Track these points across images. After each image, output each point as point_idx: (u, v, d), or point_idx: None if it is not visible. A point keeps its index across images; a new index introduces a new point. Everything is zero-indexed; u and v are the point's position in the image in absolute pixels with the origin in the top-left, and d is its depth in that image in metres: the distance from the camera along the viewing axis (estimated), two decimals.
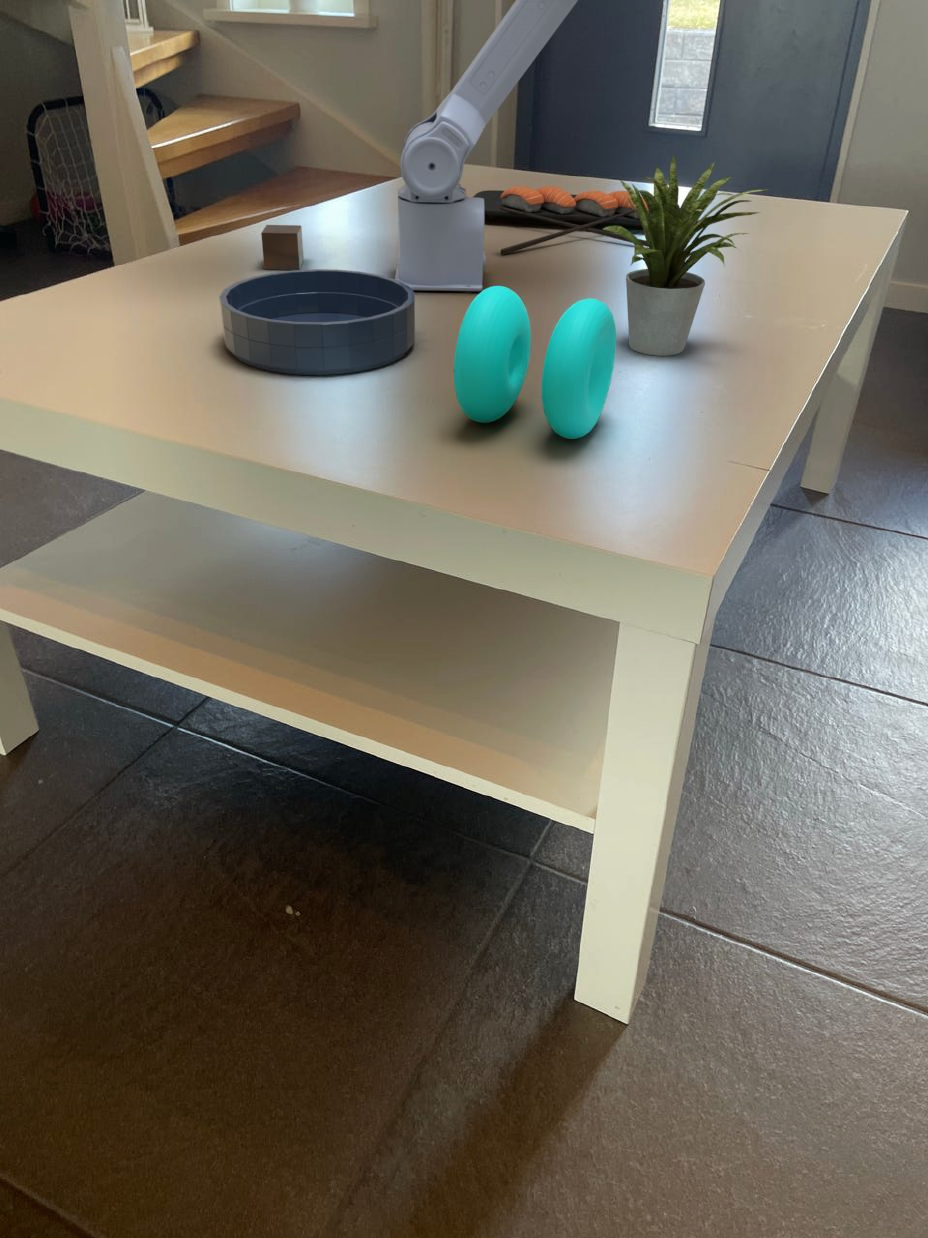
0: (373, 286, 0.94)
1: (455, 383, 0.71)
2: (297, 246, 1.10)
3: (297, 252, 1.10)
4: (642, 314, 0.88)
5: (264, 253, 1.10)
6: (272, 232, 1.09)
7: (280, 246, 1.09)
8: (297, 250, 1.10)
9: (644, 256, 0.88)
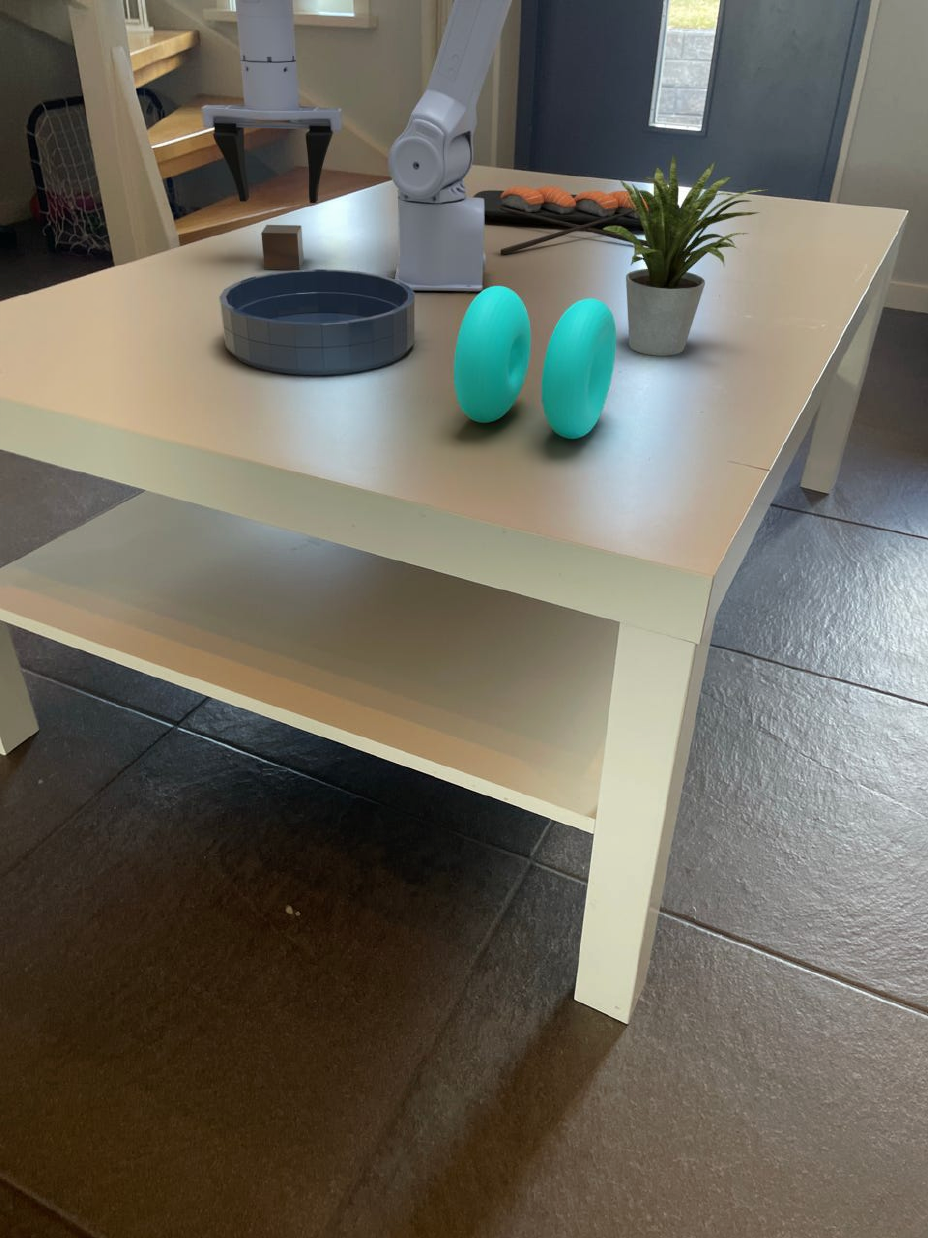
0: (373, 286, 0.94)
1: (455, 383, 0.71)
2: (297, 246, 1.10)
3: (297, 252, 1.10)
4: (642, 314, 0.88)
5: (264, 253, 1.10)
6: (272, 232, 1.09)
7: (280, 246, 1.09)
8: (297, 250, 1.10)
9: (644, 256, 0.88)
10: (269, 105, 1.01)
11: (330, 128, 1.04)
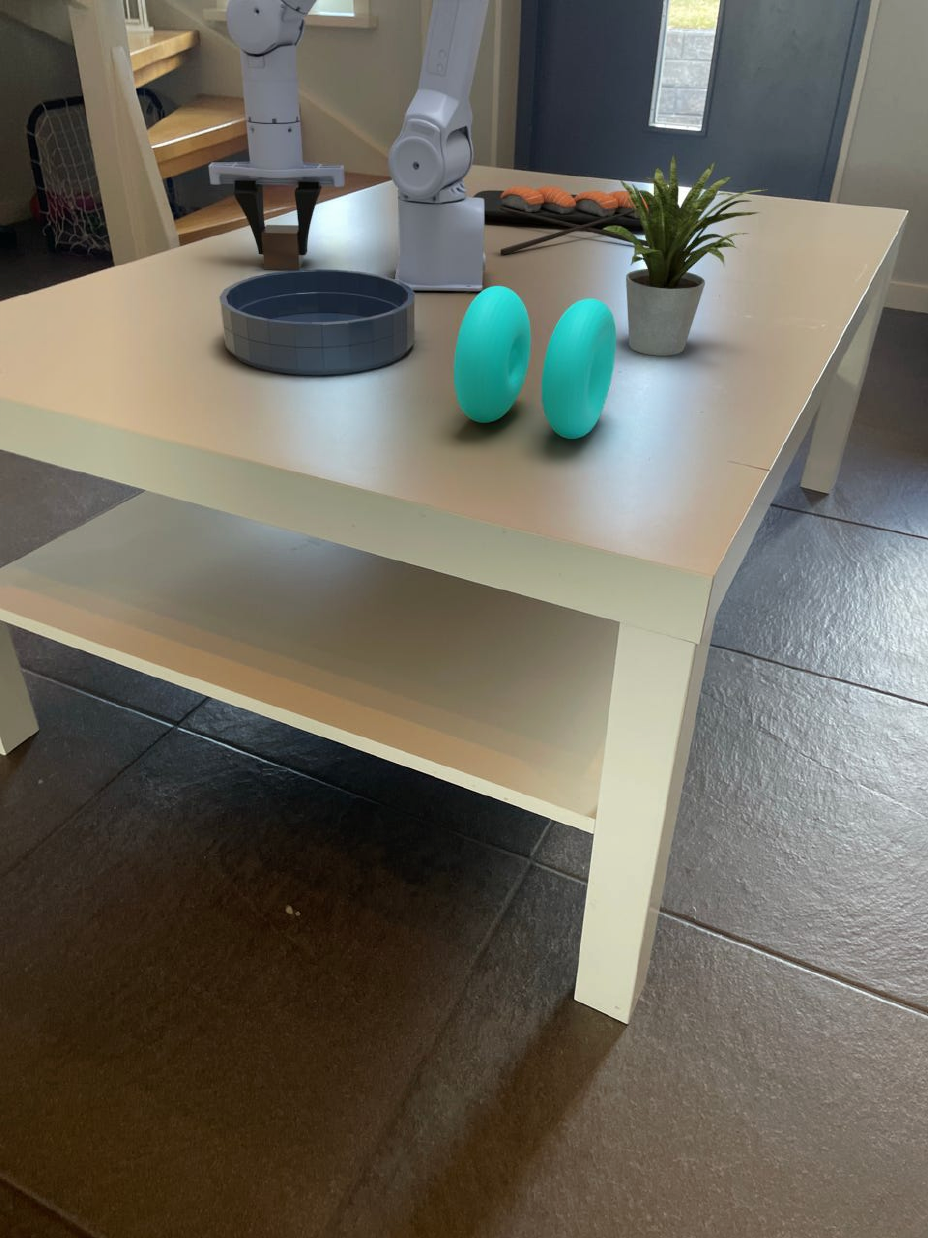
0: (373, 286, 0.94)
1: (455, 383, 0.71)
2: (297, 246, 1.10)
3: (297, 252, 1.10)
4: (642, 314, 0.88)
5: (264, 253, 1.10)
6: (272, 232, 1.09)
7: (280, 246, 1.09)
8: (297, 250, 1.10)
9: (644, 256, 0.88)
10: (274, 164, 1.04)
11: (318, 184, 1.07)
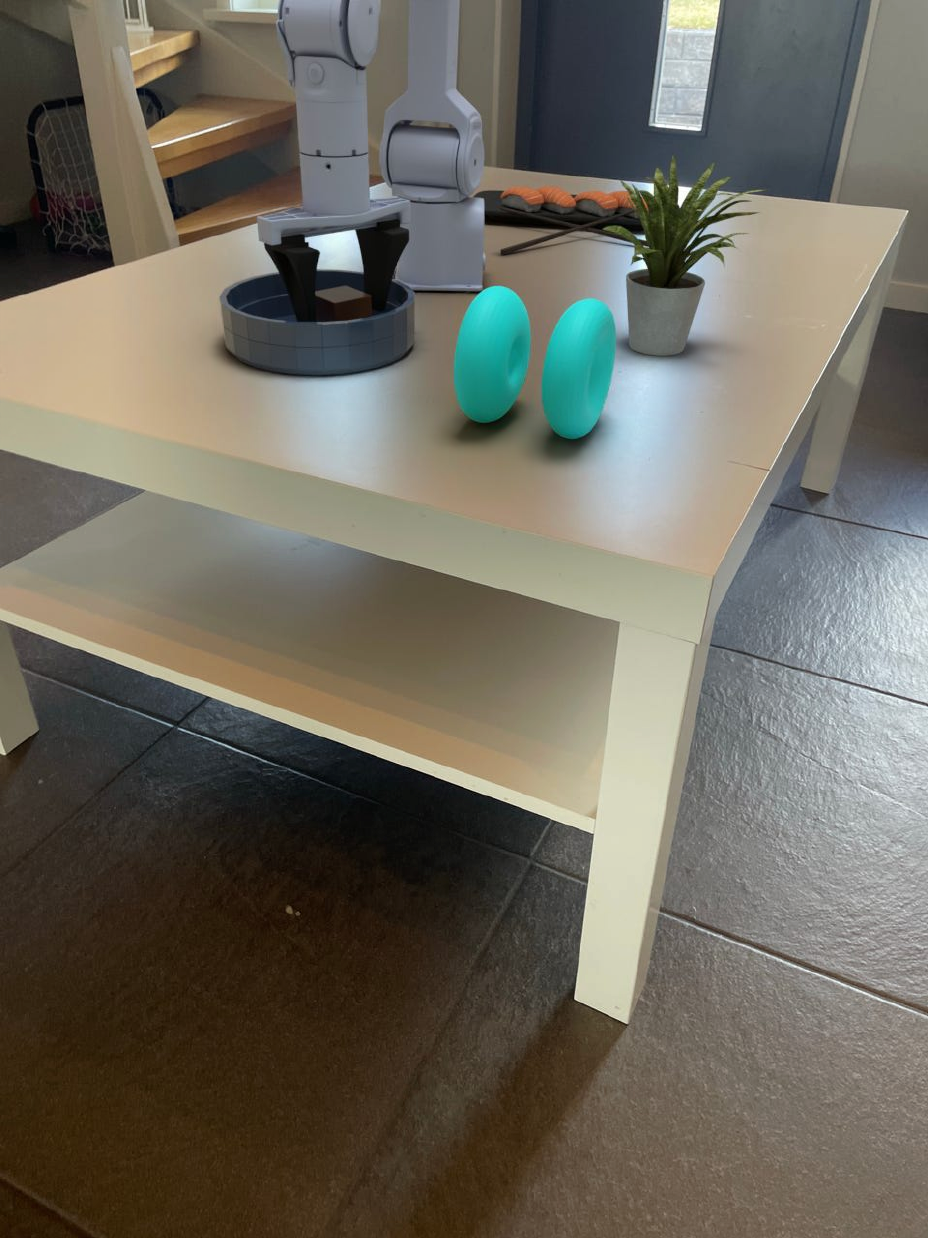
0: None
1: (455, 383, 0.71)
2: (370, 311, 0.88)
3: None
4: (642, 314, 0.88)
5: None
6: (344, 300, 0.86)
7: (353, 315, 0.87)
8: (371, 316, 0.88)
9: (644, 256, 0.88)
10: (357, 207, 0.81)
11: (400, 222, 0.87)
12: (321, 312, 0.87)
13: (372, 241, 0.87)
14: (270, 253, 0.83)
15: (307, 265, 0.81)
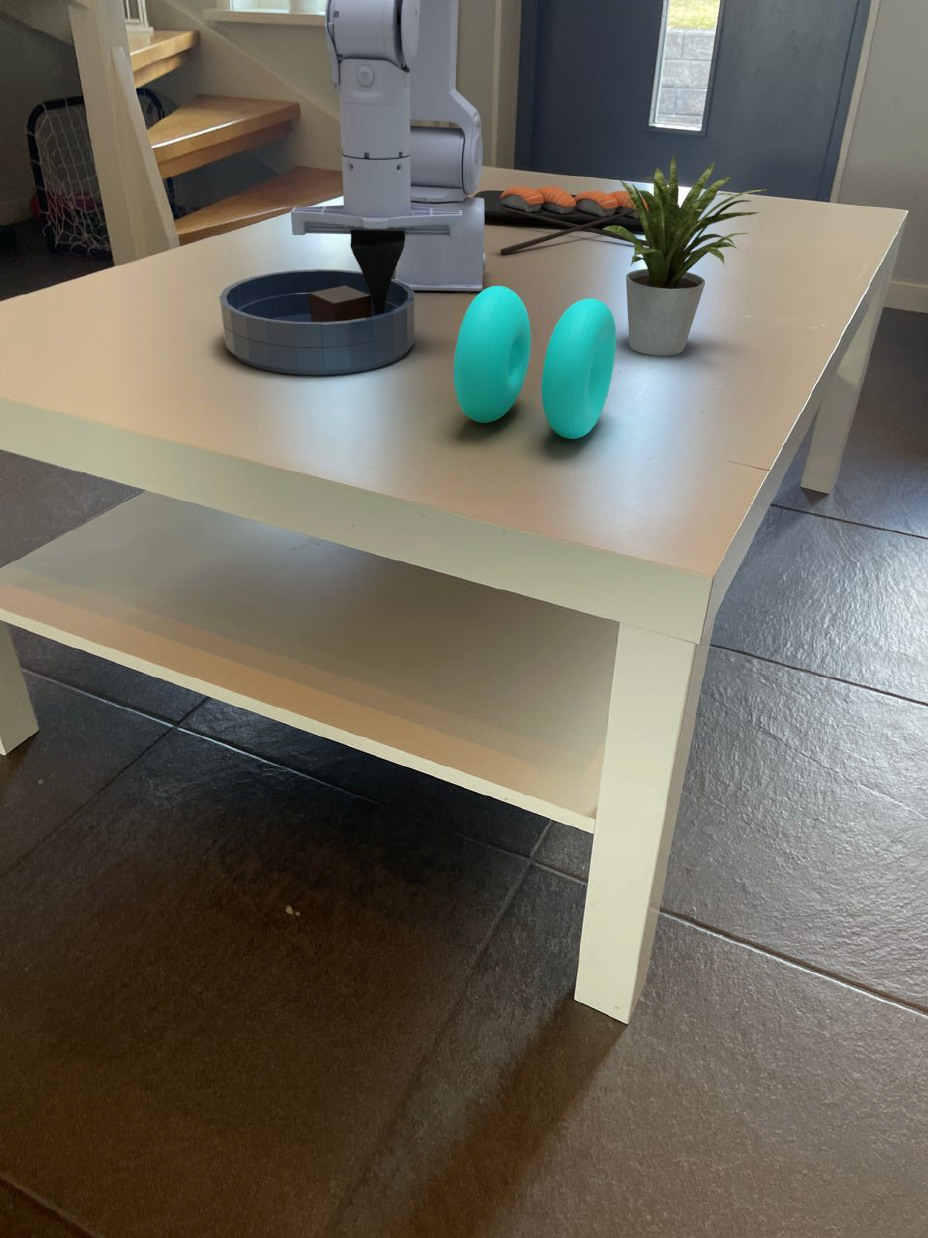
0: None
1: (455, 383, 0.71)
2: (370, 311, 0.88)
3: None
4: (642, 314, 0.88)
5: None
6: (343, 300, 0.86)
7: (353, 316, 0.87)
8: (370, 316, 0.88)
9: (644, 256, 0.88)
10: None
11: None
12: (321, 312, 0.87)
13: None
14: None
15: None
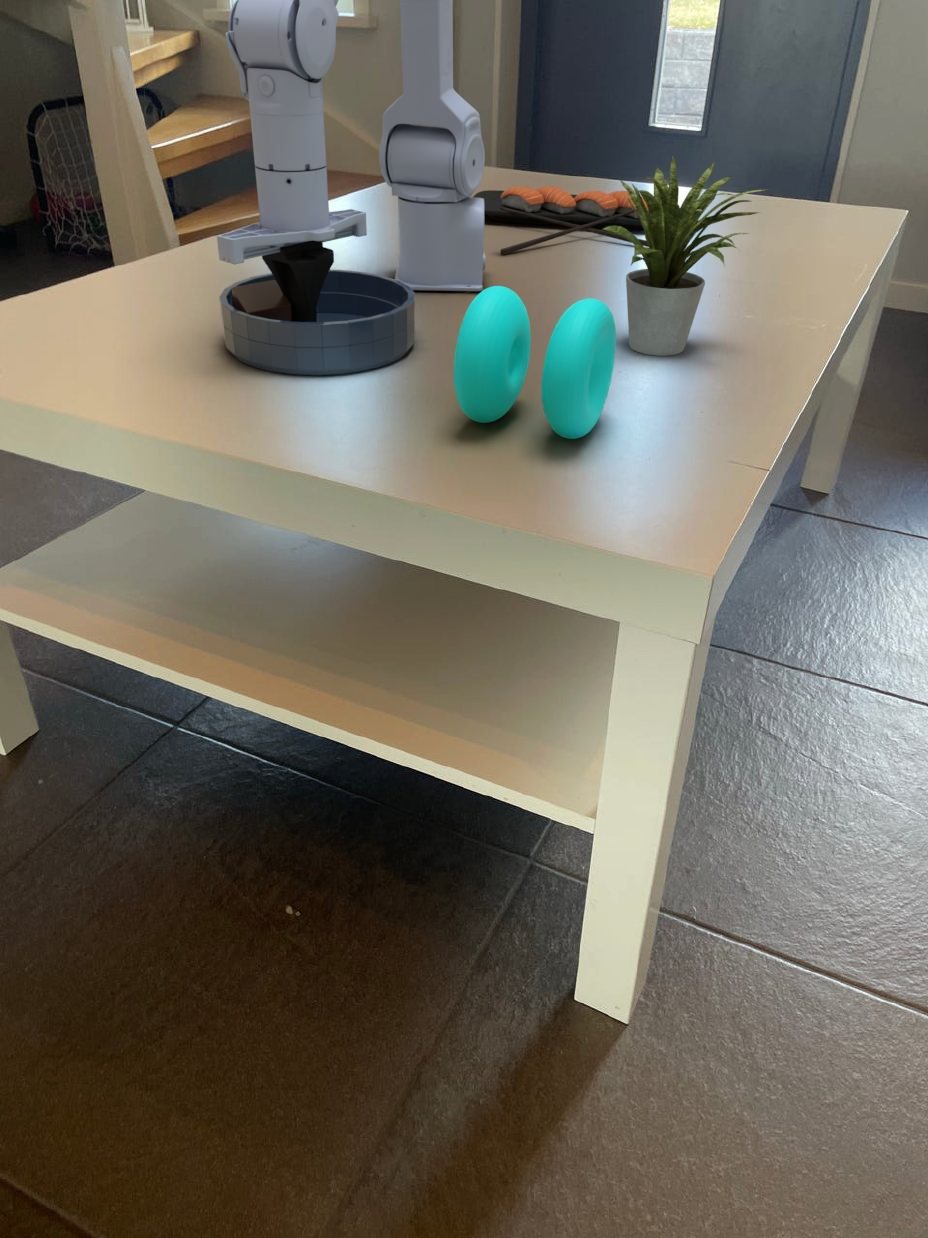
0: (373, 286, 0.94)
1: (455, 383, 0.71)
2: (290, 318, 0.85)
3: None
4: (642, 314, 0.88)
5: None
6: (259, 308, 0.83)
7: None
8: None
9: (644, 256, 0.88)
10: None
11: None
12: None
13: None
14: None
15: None
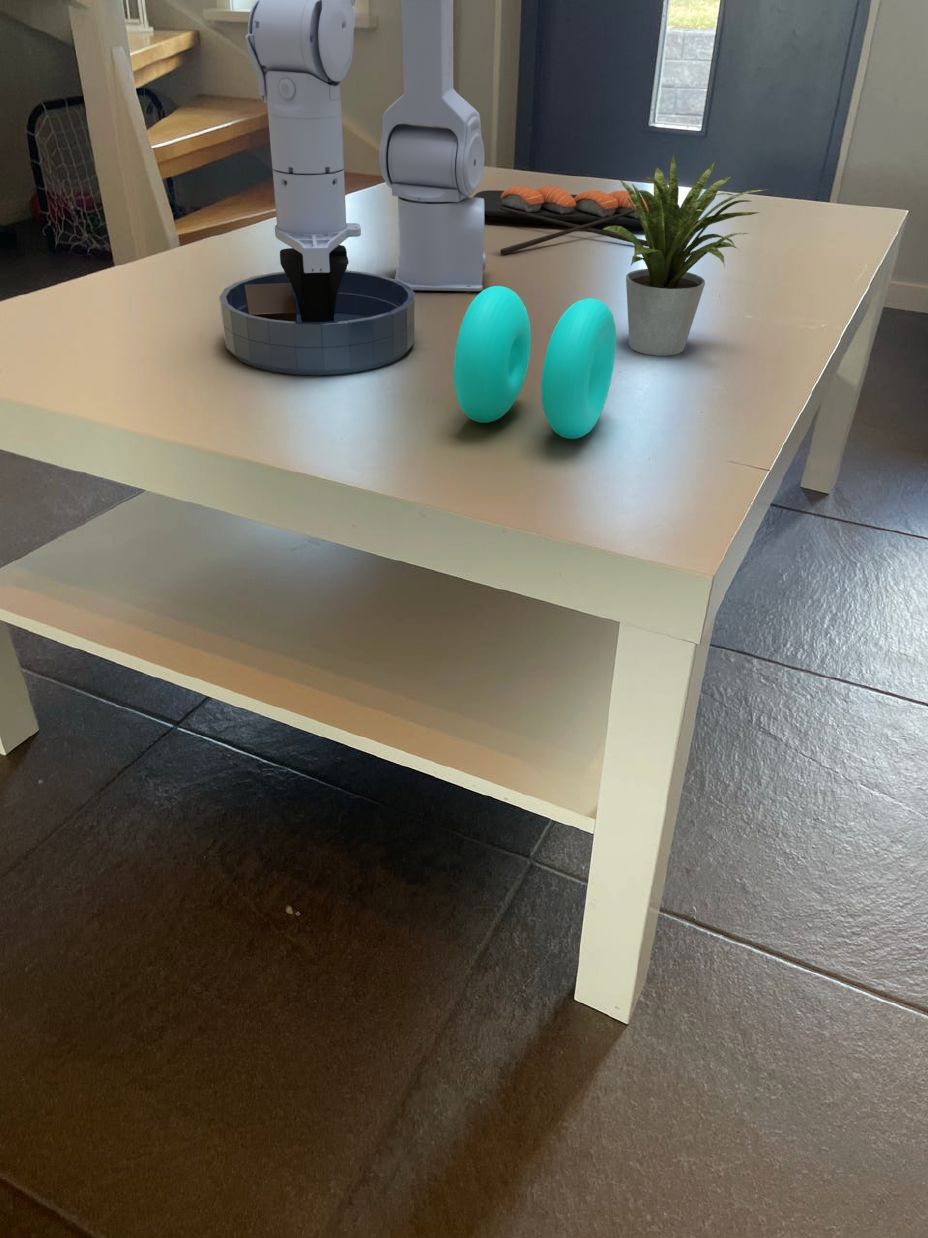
0: (373, 286, 0.94)
1: (455, 383, 0.71)
2: None
3: None
4: (642, 314, 0.88)
5: None
6: (263, 311, 0.83)
7: None
8: None
9: (644, 256, 0.88)
10: None
11: None
12: None
13: None
14: None
15: None
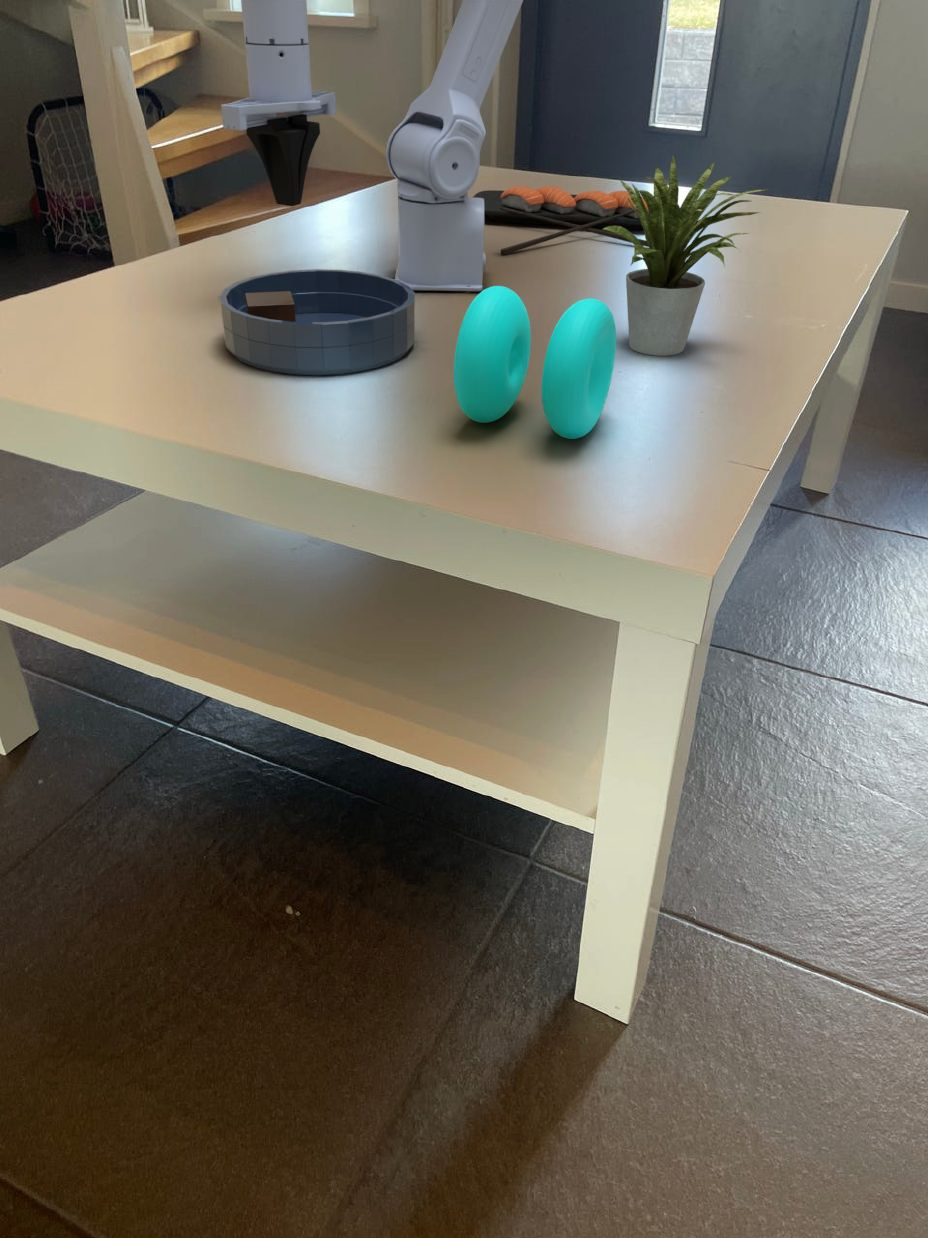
0: (373, 286, 0.94)
1: (455, 383, 0.71)
2: (294, 319, 0.85)
3: None
4: (642, 314, 0.88)
5: None
6: (261, 304, 0.84)
7: None
8: None
9: (644, 256, 0.88)
10: None
11: None
12: None
13: None
14: None
15: None
